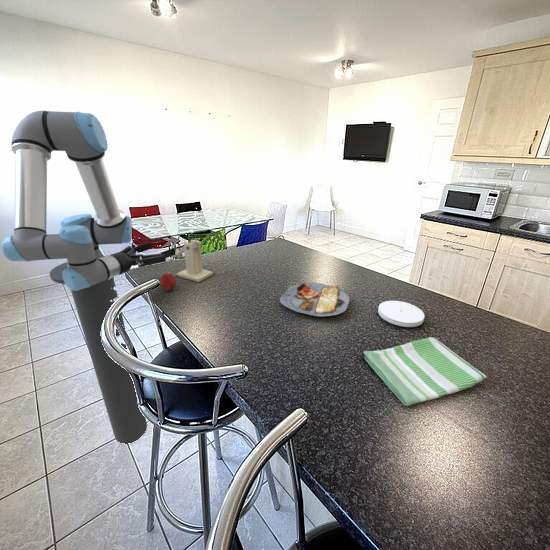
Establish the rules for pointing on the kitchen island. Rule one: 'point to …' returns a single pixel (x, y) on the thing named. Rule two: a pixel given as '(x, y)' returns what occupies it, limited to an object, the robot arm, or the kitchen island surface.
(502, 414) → the kitchen island surface
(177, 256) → the lever
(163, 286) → the onion
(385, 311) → the plastic lid
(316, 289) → the food plate
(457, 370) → the dish towel
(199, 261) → the bracket
